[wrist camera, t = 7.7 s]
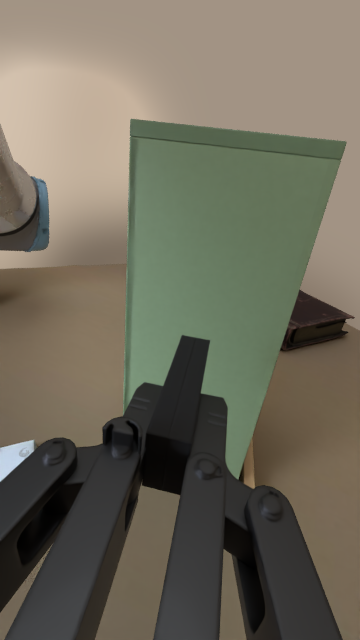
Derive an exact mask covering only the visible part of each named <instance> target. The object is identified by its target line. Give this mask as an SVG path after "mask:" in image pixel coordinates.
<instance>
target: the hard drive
mask: <svg viewBox="0 0 360 640" xmlns="http://www.w3.org/2000/svg"><path fill="white" fill-rule="evenodd" d="M35 449H36V443H35V440H31V441H27V442H23V443H18V444H14V445H10V446H6V447H2V448H0V481H2V480H3V479H4V478H5V477H6V476H7V475H8V474H9V473H10V472H11V471H12V470H14V469H15V468H16V467H17V466H18V465H19V464H20V463H21V462H22V461H23V460H24V459H26V458H27V457H28V456H29V455H30V454H31V453H32V452H33V451H34V450H35Z"/></svg>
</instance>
